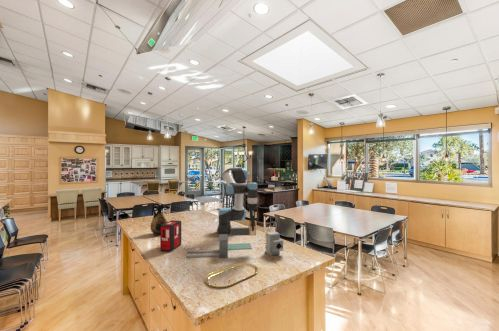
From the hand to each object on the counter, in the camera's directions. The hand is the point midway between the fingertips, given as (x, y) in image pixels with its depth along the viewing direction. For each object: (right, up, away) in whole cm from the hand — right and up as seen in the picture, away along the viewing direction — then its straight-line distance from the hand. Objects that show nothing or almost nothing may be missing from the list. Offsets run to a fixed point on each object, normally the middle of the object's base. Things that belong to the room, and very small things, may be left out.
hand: (252, 233), depth 174 cm
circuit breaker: (+17, -15, -3) cm, 23 cm away
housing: (-33, -14, -4) cm, 37 cm away
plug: (-6, -1, -1) cm, 6 cm away
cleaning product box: (-65, -14, +9) cm, 67 cm away
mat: (-11, -14, +12) cm, 22 cm away
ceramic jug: (-89, -14, +44) cm, 101 cm away
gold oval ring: (-12, -15, -36) cm, 41 cm away
